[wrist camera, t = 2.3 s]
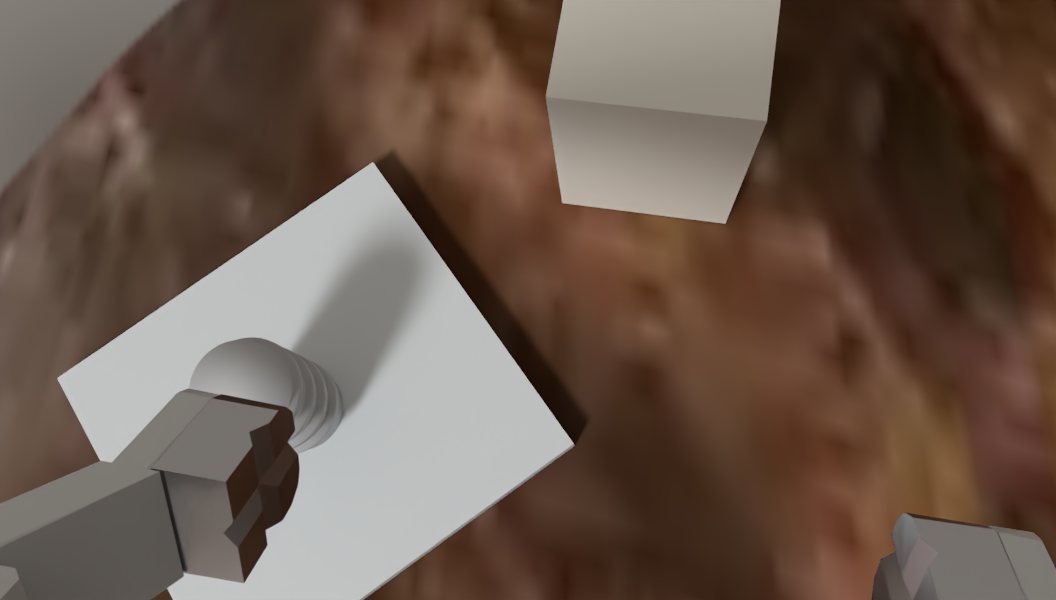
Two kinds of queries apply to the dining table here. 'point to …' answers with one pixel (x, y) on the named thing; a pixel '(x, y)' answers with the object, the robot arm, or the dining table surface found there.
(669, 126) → the cream rectangular block
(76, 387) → the stud board
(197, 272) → the dining table surface
